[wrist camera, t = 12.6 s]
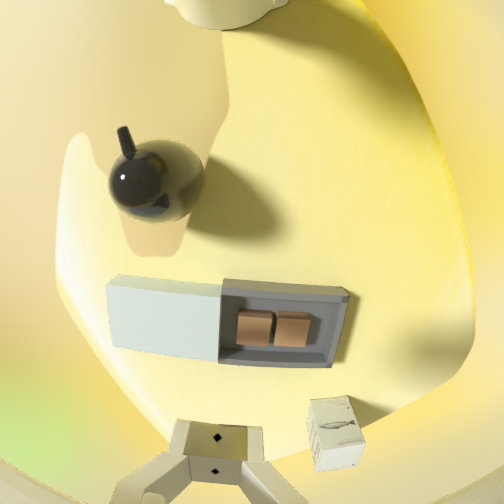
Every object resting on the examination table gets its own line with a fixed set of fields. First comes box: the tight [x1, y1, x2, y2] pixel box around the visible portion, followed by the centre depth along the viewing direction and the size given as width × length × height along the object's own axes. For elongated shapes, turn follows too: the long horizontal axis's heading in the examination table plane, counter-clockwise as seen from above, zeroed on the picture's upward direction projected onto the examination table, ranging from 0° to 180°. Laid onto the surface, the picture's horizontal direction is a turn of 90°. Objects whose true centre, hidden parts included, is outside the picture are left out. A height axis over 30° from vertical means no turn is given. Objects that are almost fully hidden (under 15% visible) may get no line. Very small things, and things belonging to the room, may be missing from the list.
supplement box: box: [307, 396, 366, 473], centre depth 40 cm, size 7×7×13 cm
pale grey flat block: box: [106, 274, 223, 362], centre depth 39 cm, size 10×16×4 cm, turn 85°
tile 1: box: [236, 308, 272, 346], centre depth 40 cm, size 4×4×2 cm
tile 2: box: [273, 310, 310, 347], centre depth 40 cm, size 4×4×2 cm
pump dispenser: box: [108, 126, 205, 224], centre depth 29 cm, size 10×10×15 cm
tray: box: [218, 279, 349, 368], centre depth 40 cm, size 12×17×4 cm
